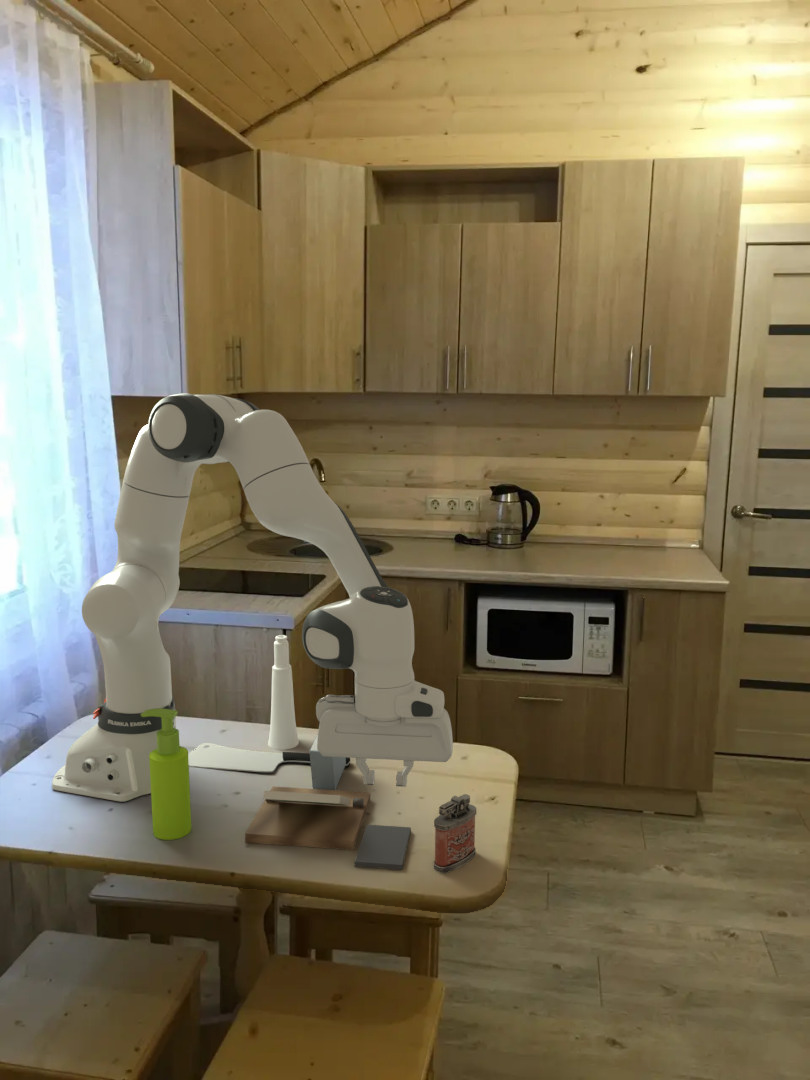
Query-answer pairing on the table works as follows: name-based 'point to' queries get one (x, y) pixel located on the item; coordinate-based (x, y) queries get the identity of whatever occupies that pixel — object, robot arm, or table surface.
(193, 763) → the kitchen cleaver
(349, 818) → the hinge board
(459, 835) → the lighter
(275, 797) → the tile
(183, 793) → the soap dispenser
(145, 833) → the table surface
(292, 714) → the cosmetic bottle
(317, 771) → the grey rectangular prism
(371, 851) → the pad
